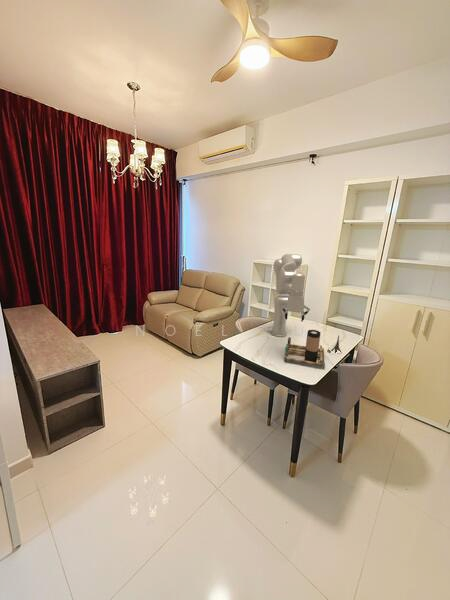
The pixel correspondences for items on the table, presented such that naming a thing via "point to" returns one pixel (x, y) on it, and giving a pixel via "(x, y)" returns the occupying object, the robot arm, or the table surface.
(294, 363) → the lane frame
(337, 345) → the eiffel tower figurine
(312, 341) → the travel mug
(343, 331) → the table surface
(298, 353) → the brown low piece
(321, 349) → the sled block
